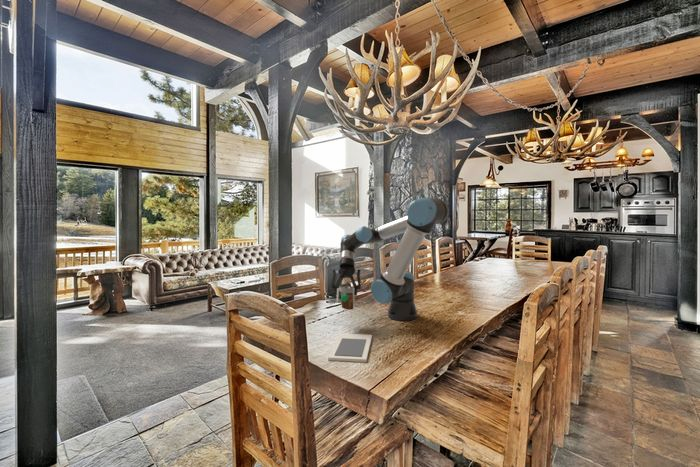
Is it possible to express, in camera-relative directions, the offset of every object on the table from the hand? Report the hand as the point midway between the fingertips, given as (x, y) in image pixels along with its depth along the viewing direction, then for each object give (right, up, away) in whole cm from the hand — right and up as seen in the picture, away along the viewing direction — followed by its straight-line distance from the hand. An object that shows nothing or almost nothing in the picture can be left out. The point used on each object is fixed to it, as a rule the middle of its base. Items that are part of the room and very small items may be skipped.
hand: (345, 301), depth 152 cm
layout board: (+3, -14, -20) cm, 25 cm away
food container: (0, -3, +4) cm, 5 cm away
